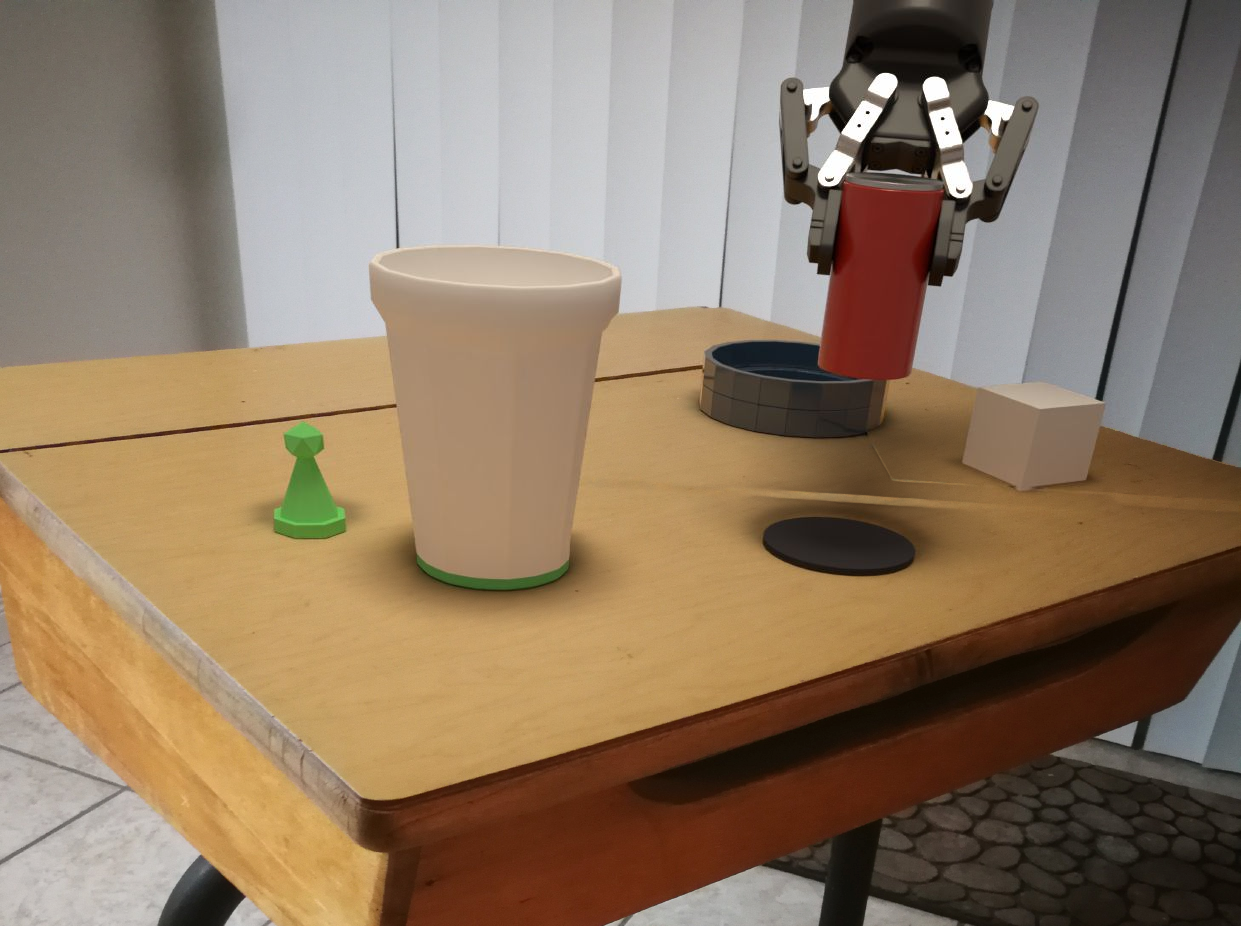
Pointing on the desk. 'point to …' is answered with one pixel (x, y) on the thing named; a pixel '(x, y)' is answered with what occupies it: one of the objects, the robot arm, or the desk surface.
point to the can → (879, 274)
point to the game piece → (307, 491)
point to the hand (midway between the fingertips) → (880, 269)
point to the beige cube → (1032, 434)
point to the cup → (493, 400)
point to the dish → (786, 391)
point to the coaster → (838, 545)
